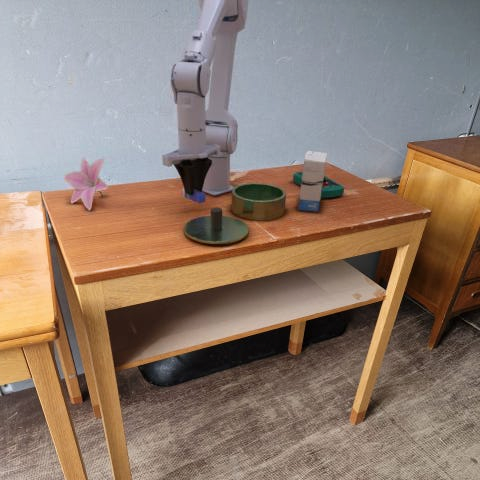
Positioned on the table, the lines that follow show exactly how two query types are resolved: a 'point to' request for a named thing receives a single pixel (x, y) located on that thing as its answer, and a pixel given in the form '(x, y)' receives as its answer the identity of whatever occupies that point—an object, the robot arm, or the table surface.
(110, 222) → the table surface
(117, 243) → the table surface
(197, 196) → the eraser
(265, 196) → the pan
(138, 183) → the table surface
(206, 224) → the pan lid
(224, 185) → the robot arm
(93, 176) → the lily
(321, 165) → the ink box
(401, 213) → the table surface
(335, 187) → the digital multimeter
